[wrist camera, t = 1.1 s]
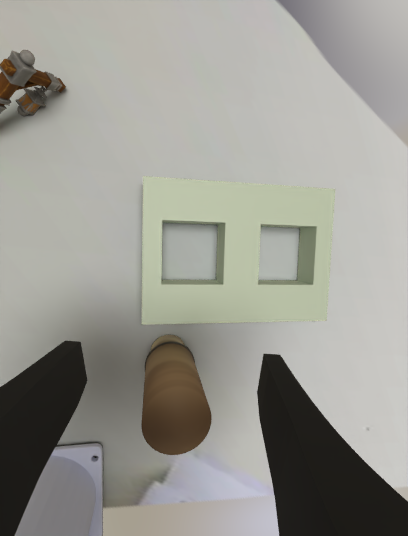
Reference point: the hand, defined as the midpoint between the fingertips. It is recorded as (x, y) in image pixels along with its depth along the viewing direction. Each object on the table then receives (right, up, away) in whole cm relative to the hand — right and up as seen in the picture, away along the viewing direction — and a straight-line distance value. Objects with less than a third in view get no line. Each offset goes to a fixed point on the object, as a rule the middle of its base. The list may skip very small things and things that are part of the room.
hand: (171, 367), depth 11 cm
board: (+4, +5, +12) cm, 13 cm away
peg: (-2, -3, +11) cm, 12 cm away
